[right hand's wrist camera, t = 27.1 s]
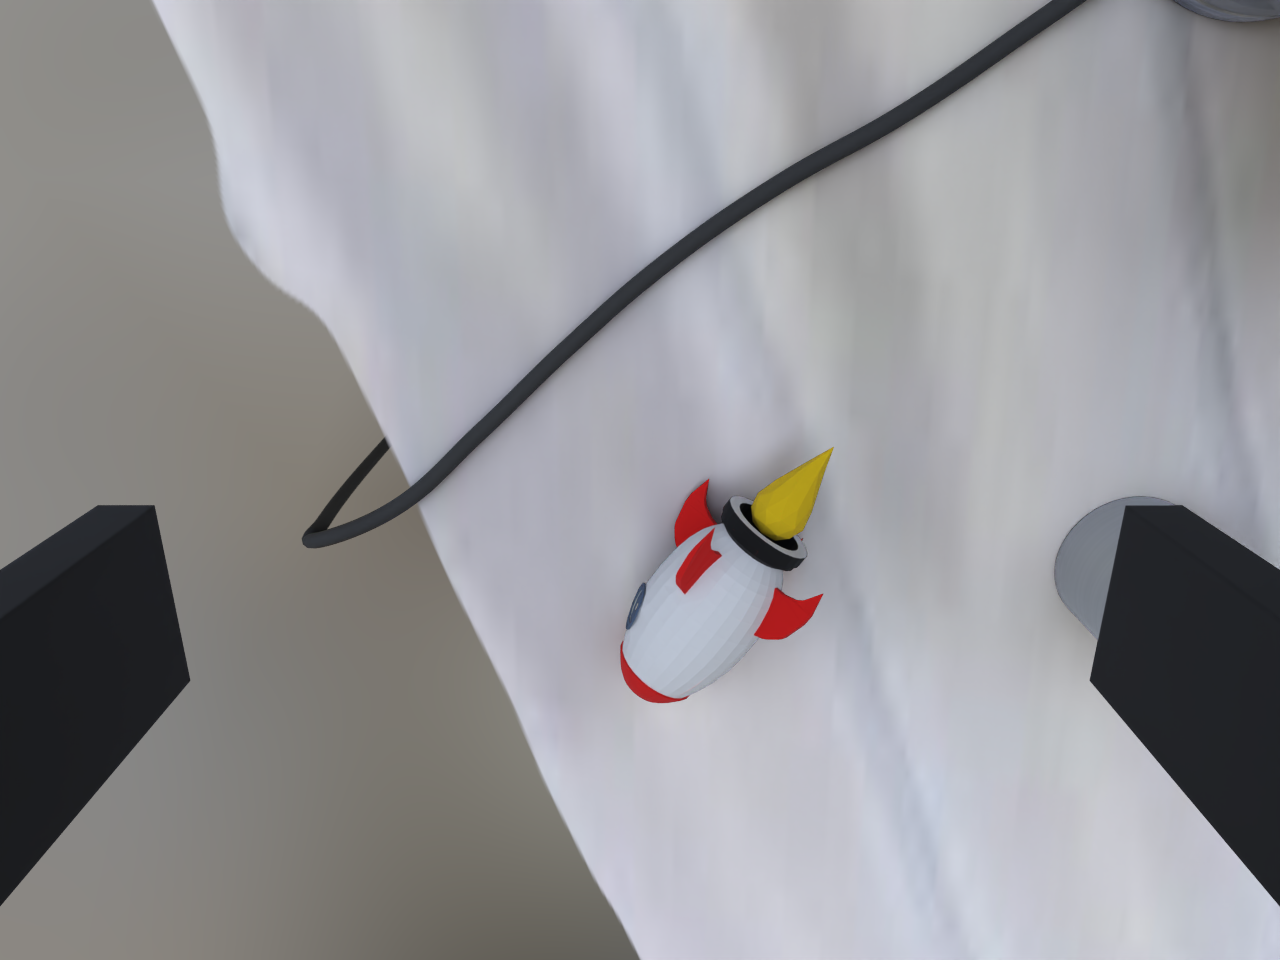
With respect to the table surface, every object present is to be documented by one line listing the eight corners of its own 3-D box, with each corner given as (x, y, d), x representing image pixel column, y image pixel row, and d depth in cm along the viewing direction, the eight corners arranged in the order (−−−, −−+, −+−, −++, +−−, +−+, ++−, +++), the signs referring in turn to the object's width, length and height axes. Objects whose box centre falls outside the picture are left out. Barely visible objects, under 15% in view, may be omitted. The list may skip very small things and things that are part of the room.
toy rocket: (754, 409, 46) (552, 681, 52) (905, 520, 45) (682, 780, 52) (772, 385, 54) (596, 620, 61) (898, 477, 54) (707, 704, 61)
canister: (1230, 540, 57) (1382, 641, 45) (1131, 648, 59) (1250, 769, 48) (1121, 470, 55) (1249, 556, 43) (1024, 584, 58) (1121, 693, 46)
